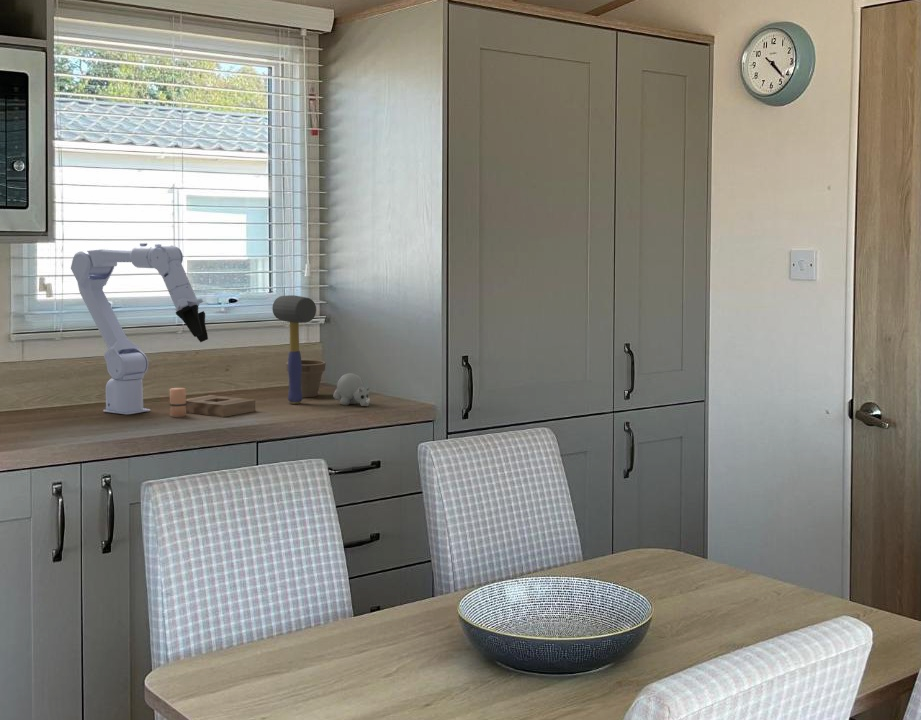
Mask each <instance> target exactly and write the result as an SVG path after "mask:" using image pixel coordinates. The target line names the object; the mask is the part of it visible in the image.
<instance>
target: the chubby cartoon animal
mask: <svg viewBox="0 0 921 720" xmlns="http://www.w3.org/2000/svg"><path fill="white" fill-rule="evenodd" d="M370 388H371V387H370V386H368V387H364V383H363V380H362V378H361V376H359V375H357V374H355V373H351V372H350V373H345V374H343V375H342V376H340V378H339V379H338V381H337V384H336V389H335V390H334V392H333V394H332V395H333V396H332V397H333V399H334V400H339V402H340V404H341V405H343V406H349V405H350V404H352V405H357V404H358V403H359V404H360V406H361V407H362V406H367V407H369V405H370V404H371V403H370V402H371V401H370V400H371V399H370V397H369V395H370V394H369V392H370V391H369V390H370Z"/></svg>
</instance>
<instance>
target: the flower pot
mask: <svg viewBox="0 0 921 720" xmlns="http://www.w3.org/2000/svg"><path fill="white" fill-rule="evenodd" d="M301 363H302V372H301V392H302V398H305V399H306V398H314V397H317V396H318V394H319V390H320V385H321V381H322V376H323V372H324V371H326V366H327V365H326V363H327V362H325V361H323V360H317V359H301ZM285 369H286V372H288V361H286V363H285Z"/></svg>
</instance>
